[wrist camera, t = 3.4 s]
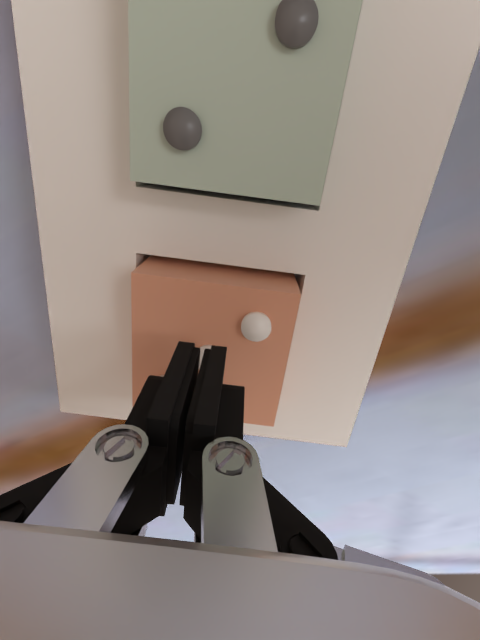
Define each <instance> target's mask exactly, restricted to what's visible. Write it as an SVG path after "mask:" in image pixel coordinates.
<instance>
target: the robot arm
mask: <svg viewBox="0 0 480 640" xmlns="http://www.w3.org/2000/svg"><path fill="white" fill-rule="evenodd" d="M226 352H227V347H223V346H215V345H212V346H211V349H206V348H205V350H204V354H203V358H202V362H201V365H200V369H199V360H200V348H198V347H195V343H191V342H183V341H179V342H178V344H177V346H176V349H175V351H174V353H173V356H172V358H171V361H170V363H169V365H168V368H167V370H166V372H165V375H164V377H162V376H154V375H150V376H148V378H147V380H146V382H145V384H144V386H143V388H142V390H141V392H140V394H139V396H138V398H137V400H136V402H135V404H134V406H133V408H132V410H131V412H130V414H129V416H128V418H127V420H126V422H125V424H123V425H114V426H111V427H108V428H106V429H104V430H102V431H100V432H99V433H97V434H96V435H95V436H94V437H93V438H92V439H91V441H90V442H89V443H88V444H87V446H86V447H85V448H84V449H83V450H82V452H81V453H80V454H79V455H78V457H77V458H76V459H75V460H74V461H73V462H72V463H70V464H68V465H66V466H64V467H61V468H59V469H57V470H55V471H53V472H50V473H48V474H46V475H44V476H42V477H39V478H37V479H35V480H33V481H31V482H28V483H26V484H24V485H22V486H20V487H17V488H15V489H13V490H11V491H9V492H6V493H4V494H2V495H0V640H480V603H478V602H476V601H475V600H473V599H471V598H469V597H467V596H465V595H463V594H461V593H458V592H456V591H455V590H452V589H451V588H449V587H447V586H445V585H444V584H442V583H441V582H440V581H439V580H438V579H437V578H435V577H433V576H431V575H429V574H427V573H425V572H422V571H419V570H417V569H414V568H411V567H408V566H405V565H402V564H399V563H396V562H393V561H391V560H388V559H385V558H382V557H379V556H376V555H373V554H370V553H367V552H364V551H362V550H359V549H356V548H353V547H350V546H347V545H345V546H344V549H341V548H338V547H335V546H333V544H332V542H331V541H330V540H329V539H328V538H327V537H326V535H325V534H324V533H323V532H322V531H321V530H319V529H318V528H317V527H316V526H315V525H314V524H313V523H312V522H311V521H310V520H309V519H308V518H306V517H305V516H304V515H303V514H302V513H301V512H300V511H299V510H298V509H297V508H296V507H295V506H293V505H292V504H291V503H290V502H289V501H288V500H287V499H286V498H285V497H284V496H283V495H282V494H281V493H279V492H278V491H277V490H276V489H275V488H274V487H273V486H272V485H271V484H270V483H269V482H268V481H266V480H265V479H264V478H263V477H262V472H261V468H260V463H259V458H258V455H257V453H256V450H255V449H254V448H253V447H252V446H251V445H250V444H249V443H247V442H246V441H244V440H243V423H244V396H245V387H244V386H236V385H228V384H223V377H224V369H225V360H226ZM198 372H199V373H198ZM181 473H182V478H181V492H180V505H183V506H184V517H183V518H184V519H185V521H186V522H187V523H188V525H189V526H190V527H191V528H192V530H193V531H194V532H195V533H194V542H187V541H179V540H170V539H161V538H152V537H144V536H145V533H146V530H147V523H149V522H150V521H152V520H153V519H155V518H156V517H158V516H164V515H165V511H166V507H167V504H174V503H175V499H176V495H177V490H178V486H179V482H180V477H181Z"/></svg>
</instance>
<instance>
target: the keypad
mask: <svg viewBox="0 0 480 640" xmlns="http://www.w3.org/2000/svg"><path fill="white" fill-rule="evenodd" d="M11 5H12V13H13V22H14V30H15V38H16V47H17V55H18V63H19V71H20V80H21V88H22V96H23V105H24V113H25V121H26V130H27V138H28V146H29V155H30V163H31V171H32V179H33V188H34V196H35V204H36V213H37V221H38V229H39V238H40V246H41V254H42V263H43V271H44V279H45V287H46V296H47V304H48V312H49V321H50V329H51V337H52V346H53V354H54V362H55V371H56V379H57V387H58V396H59V404H60V412H65V413H73V414H82V415H90V416H98V417H106V418H114V419H122V420H127V418H128V416H129V414H130V412H131V410H132V408H133V404H132V311H131V272H132V271H134V270H135V269H136V268H137V267H138V266H139V265H140V264H142V263H143V262H144V261H145V260H146V259H147V258H148V257H150V256H151V255H155V256H163V257H171V258H178V259H186V260H194V261H202V262H209V263H217V264H225V265H232V266H240V267H248V268H256V269H263V270H271V271H279V272H287V273H294V276H295V278H296V281H297V284H298V287H299V290H300V293H301V298H300V303H299V308H298V312H297V317H296V322H295V327H294V332H293V336H292V341H291V346H290V351H289V356H288V360H287V365H286V370H285V375H284V380H283V384H282V389H281V394H280V399H279V404H278V408H277V413H276V418H275V423H274V427H272V426H264V425H256V424H248V423H243V434H245V435H253V436H261V437H269V438H277V439H285V440H294V441H302V442H310V443H318V444H326V445H334V446H342V447H347V444H348V441H349V438H350V435H351V432H352V429H353V426H354V423H355V420H356V417H357V414H358V411H359V408H360V405H361V402H362V399H363V396H364V393H365V390H366V387H367V384H368V381H369V378H370V375H371V372H372V369H373V366H374V363H375V360H376V357H377V354H378V351H379V348H380V345H381V342H382V339H383V336H384V333H385V330H386V327H387V324H388V321H389V318H390V315H391V312H392V309H393V306H394V303H395V300H396V297H397V294H398V291H399V288H400V285H401V282H402V279H403V276H404V273H405V270H406V267H407V264H408V261H409V258H410V255H411V252H412V249H413V246H414V243H415V240H416V237H417V234H418V231H419V228H420V225H421V222H422V219H423V216H424V213H425V210H426V207H427V204H428V201H429V198H430V195H431V192H432V189H433V186H434V183H435V179H436V176H437V173H438V170H439V167H440V164H441V161H442V158H443V155H444V152H445V149H446V146H447V143H448V140H449V137H450V134H451V131H452V128H453V125H454V122H455V119H456V116H457V113H458V110H459V107H460V104H461V101H462V98H463V95H464V92H465V89H466V86H467V83H468V80H469V77H470V74H471V71H472V68H473V65H474V62H475V59H476V56H477V53H478V50H479V47H480V0H363V1H362V5H361V10H360V15H359V20H358V25H357V29H356V34H355V39H354V44H353V48H352V53H351V58H350V63H349V68H348V72H347V77H346V82H345V87H344V92H343V96H342V101H341V106H340V111H339V116H338V120H337V125H336V130H335V135H334V140H333V144H332V149H331V154H330V159H329V164H328V168H327V173H326V178H325V183H324V188H323V192H322V197H321V202H320V206H317V205H310V204H302V203H294V202H287V201H279V200H272V199H264V198H257V197H249V196H242V195H234V194H226V193H219V192H211V191H204V190H196V189H189V188H181V187H174V186H166V185H159V184H151V183H143V182H136V181H130V125H129V31H128V0H11Z"/></svg>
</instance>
